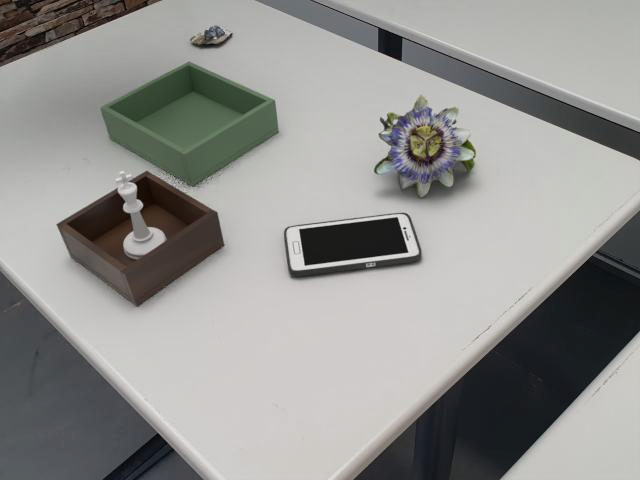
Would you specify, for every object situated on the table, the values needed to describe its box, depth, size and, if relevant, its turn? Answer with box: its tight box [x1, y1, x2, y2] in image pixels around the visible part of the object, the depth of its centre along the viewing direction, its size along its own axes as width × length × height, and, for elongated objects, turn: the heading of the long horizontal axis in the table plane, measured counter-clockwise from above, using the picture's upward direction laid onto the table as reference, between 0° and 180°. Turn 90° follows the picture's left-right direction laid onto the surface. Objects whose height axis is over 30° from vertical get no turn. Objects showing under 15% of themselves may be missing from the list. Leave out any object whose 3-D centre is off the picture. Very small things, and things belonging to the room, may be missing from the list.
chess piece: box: [114, 170, 167, 260], centre depth 75 cm, size 5×5×10 cm
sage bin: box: [99, 61, 280, 187], centre depth 93 cm, size 18×16×5 cm
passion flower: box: [373, 94, 477, 198], centre depth 84 cm, size 11×11×12 cm
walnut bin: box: [56, 170, 225, 307], centre depth 78 cm, size 13×13×5 cm
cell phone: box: [283, 212, 423, 277], centre depth 77 cm, size 8×15×1 cm, turn 97°
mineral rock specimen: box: [189, 25, 230, 46], centre depth 114 cm, size 7×8×2 cm
